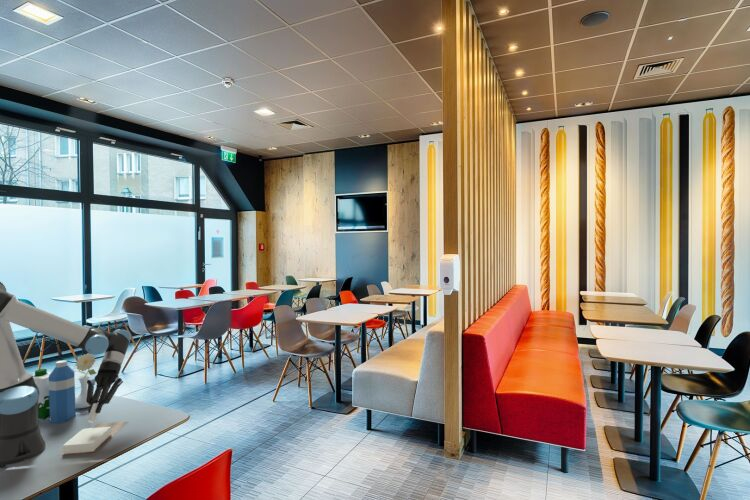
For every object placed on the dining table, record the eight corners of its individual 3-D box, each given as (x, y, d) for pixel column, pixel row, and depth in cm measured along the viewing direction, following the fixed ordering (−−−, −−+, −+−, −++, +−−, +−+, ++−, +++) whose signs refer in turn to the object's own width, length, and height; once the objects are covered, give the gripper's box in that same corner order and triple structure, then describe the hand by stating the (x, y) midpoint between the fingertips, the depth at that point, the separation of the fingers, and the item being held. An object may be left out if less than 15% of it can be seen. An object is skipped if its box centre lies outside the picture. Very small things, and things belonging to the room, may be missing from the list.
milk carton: (47, 410, 184) (46, 366, 183) (64, 411, 182) (62, 367, 181) (27, 418, 175) (26, 373, 174) (44, 420, 173) (43, 374, 173)
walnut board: (58, 457, 143) (58, 455, 143) (98, 425, 168) (98, 423, 168) (94, 454, 144) (94, 452, 144) (128, 423, 169) (128, 421, 169)
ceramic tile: (83, 428, 156) (62, 445, 143) (111, 426, 157) (93, 443, 145) (83, 437, 156) (62, 454, 143) (111, 434, 157) (93, 452, 145)
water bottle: (80, 417, 176) (78, 360, 175) (54, 425, 168) (52, 366, 167) (71, 412, 181) (69, 357, 180) (45, 420, 173) (43, 362, 172)
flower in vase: (63, 409, 184) (61, 355, 184) (87, 399, 195) (86, 348, 194) (83, 412, 180) (82, 357, 180) (107, 403, 191) (106, 350, 190)
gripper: (131, 368, 172) (112, 424, 156) (97, 369, 170) (75, 426, 154) (125, 359, 166) (105, 416, 150) (90, 361, 164) (67, 419, 148)
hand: (90, 421), depth 152 cm, fingers closed
